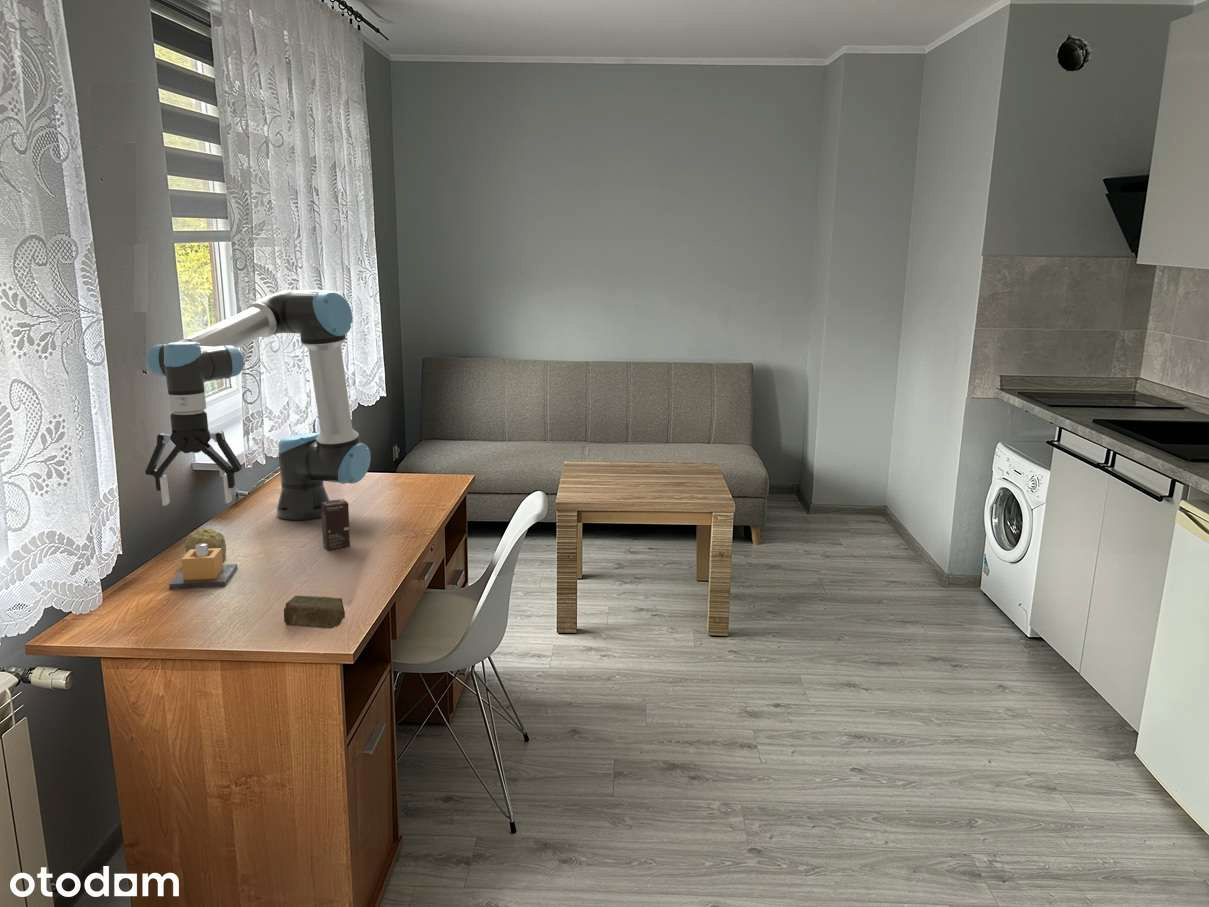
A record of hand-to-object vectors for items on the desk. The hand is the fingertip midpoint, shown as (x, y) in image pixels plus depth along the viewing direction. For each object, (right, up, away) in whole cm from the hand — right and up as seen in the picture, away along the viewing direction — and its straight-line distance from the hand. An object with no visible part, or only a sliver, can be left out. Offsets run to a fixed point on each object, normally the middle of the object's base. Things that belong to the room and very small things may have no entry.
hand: (197, 503), depth 211 cm
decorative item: (-5, -15, +17) cm, 23 cm away
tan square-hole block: (0, -17, +3) cm, 17 cm away
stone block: (+34, -24, -21) cm, 46 cm away
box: (+24, -13, +27) cm, 39 cm away
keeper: (0, -18, +4) cm, 18 cm away
